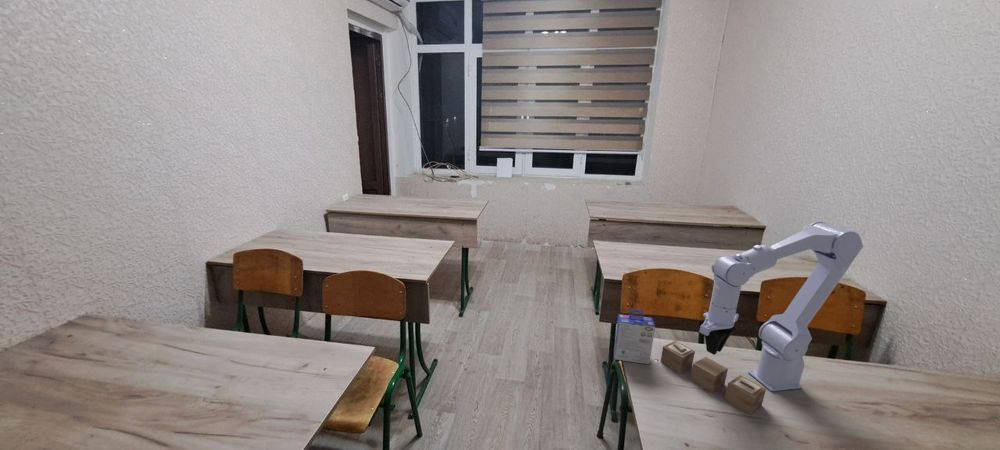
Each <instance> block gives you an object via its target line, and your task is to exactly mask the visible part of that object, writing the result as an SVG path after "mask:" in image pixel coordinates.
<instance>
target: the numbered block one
mask: <svg viewBox="0 0 1000 450" xmlns="http://www.w3.org/2000/svg"><path fill="white" fill-rule="evenodd" d="M766 390H767V388H765V387H763V386H761V385H760V384H758V383H756V382H754V381H753V380H751V379H749V378H747V377H744V376H743V375H741V374H739V375H738V376H736V377H735V378H734V379H732V380H731V381H729V382H727V385H726V390H725V395H724V399H723V400H724V401H726V402H727V403H729V404H731V405H733V407H734V406H735V407H736V408H737V409H739V410H741V411H742V412H744V413H746V414H747V415H749V416H751V415H752V414H753V413H754V412H756V411H757V410H758V409H759V408H760V407H762V406H763V402H764V398H765V395H766Z"/></svg>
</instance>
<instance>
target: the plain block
mask: <svg viewBox="0 0 1000 450" xmlns="http://www.w3.org/2000/svg"><path fill="white" fill-rule="evenodd" d="M691 367H692V368H691V374H690V378H689V379H690V381H693V382H694V383H696V384H697V385H699V386H701V387H703V388H704V389H705V390H707V391H709V392H711V393H714V392H716V391H717V390H719V389H720V388H722V387H723V386H725V385H726V379H727V374H728V372H729V368H728V367H725V366H724V365H722V364H720V363H719V362H717V361H714V360H713V359H711V358H709V357H707V356H705V357H702V358H701V359H699V360H697V361H695V362H693V364H692V366H691Z"/></svg>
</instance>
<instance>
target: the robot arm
mask: <svg viewBox="0 0 1000 450" xmlns="http://www.w3.org/2000/svg"><path fill="white" fill-rule="evenodd" d="M863 248H864V245H863V242H862V238H861V235H859V233H857V232H856V231H852V230H848V229H844V228H841V227H838V226H835V225H831V224H827V223H826V222H823V221H814V222H812V223H810V224H807V225H804V226H803V227H802V229H801V231H799V232H797V233H795V234H793V235H791V236H789V237H787V238H785V239H783V240H781V241H778V242H777V243H774V244H773V245H770V246H767V245H764V244H761V245H759V244H756V245H753V246H752V248H750V249H748V250H745V251H742V252H739V253H736V254H734V255H733V256H729V255H728V256H727V255H726V256H722V257H718V258H717V259H716V260H715V261H714V264H712V265H711V271H712V273H713V275H714V276H713V281H714V283H713V288H712V293H711V299H710V304H709V308H708V311H706V312H704V313H703V315H702V317H704V319H705V320H704V321H703V323H701V325H700V327H699V331H698V332H699V334H700V333H701V335H703V336H704V340H705V347H706V348H705V349H706V352H708V353H710V354H712V355H713V356H715V355H716V354H717V353H718V352H721V351H722V350H723V348H724V347H725V345H726V342H727V340H728V339H729V338H730V337H731V336H732V335H733V333H734V332H736V330H737V329H736V327H735V326H734V325H735V323H736V322H737V321H738V319H739V313H736V312H737V307H738V305H739V304H738V302H739V299H740V294H741V290H742V286H744V285H745V284H746V283H748V282H749V280H750V279H751V278H752V277H753V276H755V275H756V274H759V273H760V272H764V271H766V270H769V269H771V268H773V267H775V266H776V265H777V262H778V260H781V259H783V258H787V257H790V256H793V255H797V254H800V253H803V252H806V251H808V250H811V251H812V252H813V254H815V257H816V258H817V262H818V263H816V266H815V267H814V269H813V270H812V272H811V273H810V275H809V276H808V277H807V279H806V281H805V282H804V283H803V285H802V286H801V288H800V289H799V291H798V292H797V293H796V295H795V296H794V297H793V299H792V300H791V302H790V304H789V305H788V306H787V308H786V310H785V311H784V312H783V313H781V314H773V315H772V316H771V317H770V318H769V319H768V320H767V321H766V322H764V323H763V324H762V325H761V326H760V328H759V329H758V337H759V338H760V339H761V346H762V349H761V354H760V357H759V361H758V365H757V369H750V370H748V371H747V372H748V373H749V375H751V376H752V377H753V378H754V379H755V380H757V381H758V382H759V383H761V384H762V385H763V386H764V388H765V387H766V389H768V390H769V391H771V392H778V391H787V390H796V389H802V388H803V386H802V385H801V384H800V381H801V379H802V375H803V372H804V368H805V361H804V359H803V357H804V356H805V355H806V354H807V352H808V348H809V344H810V343H811V341H812V340H813V338H812V335H811V333H810V330H809V329H808V326H809V324H810V323H811V321H812V320H813V319H814V318H815V316H816V315H817V313H818V312H819V310H820V309H821V307H823V305H824V304H825V302H826V301H827V299H828V297H829V296H830V295H831V293H832V292H833V291H834V289H835V288H836V287H837V285H838V284H839V283H840V282H841V279H842V278H843V276H845V274H846V272H847V271H848V270H849V268H850V266H851V264H852V263H853V262H854V260H855V259H856V258H857V256H858V255H859V253H860V252H861V250H862V249H863Z"/></svg>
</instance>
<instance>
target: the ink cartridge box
mask: <svg viewBox="0 0 1000 450" xmlns="http://www.w3.org/2000/svg"><path fill="white" fill-rule="evenodd" d="M634 313H637V314H640V315H637V314H636V315H635V314H634ZM616 322H617V323H616V330H615V332H616V333H615V341H614V348H613V355H614V356H613V357H614V360H617V361H618V360H619V361H624V362H632V363H639V364H646V365H650V363H651V357H652V351H653V350H652V349H653V342H654V338H655V329H656V325H655V322H654V319H653V318H652V317H647V316H644V311H643V310H640V309H639V310H638V309H633V308H630V310H629V314H621V313H620V314H617V321H616Z"/></svg>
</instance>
